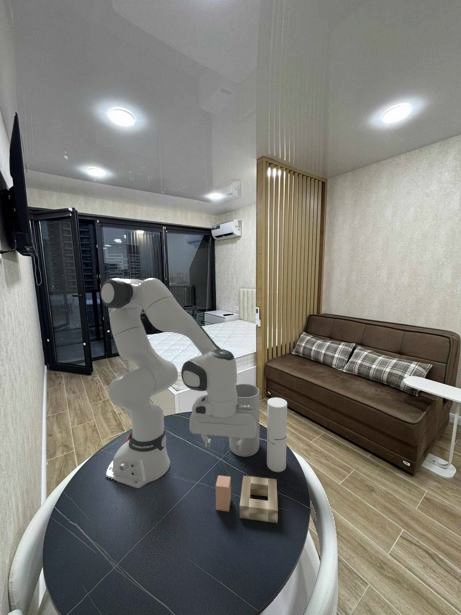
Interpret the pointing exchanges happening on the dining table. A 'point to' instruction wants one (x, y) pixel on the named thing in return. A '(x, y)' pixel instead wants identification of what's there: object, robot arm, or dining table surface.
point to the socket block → (259, 507)
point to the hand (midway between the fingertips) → (223, 447)
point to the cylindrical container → (276, 434)
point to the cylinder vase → (251, 397)
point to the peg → (223, 493)
